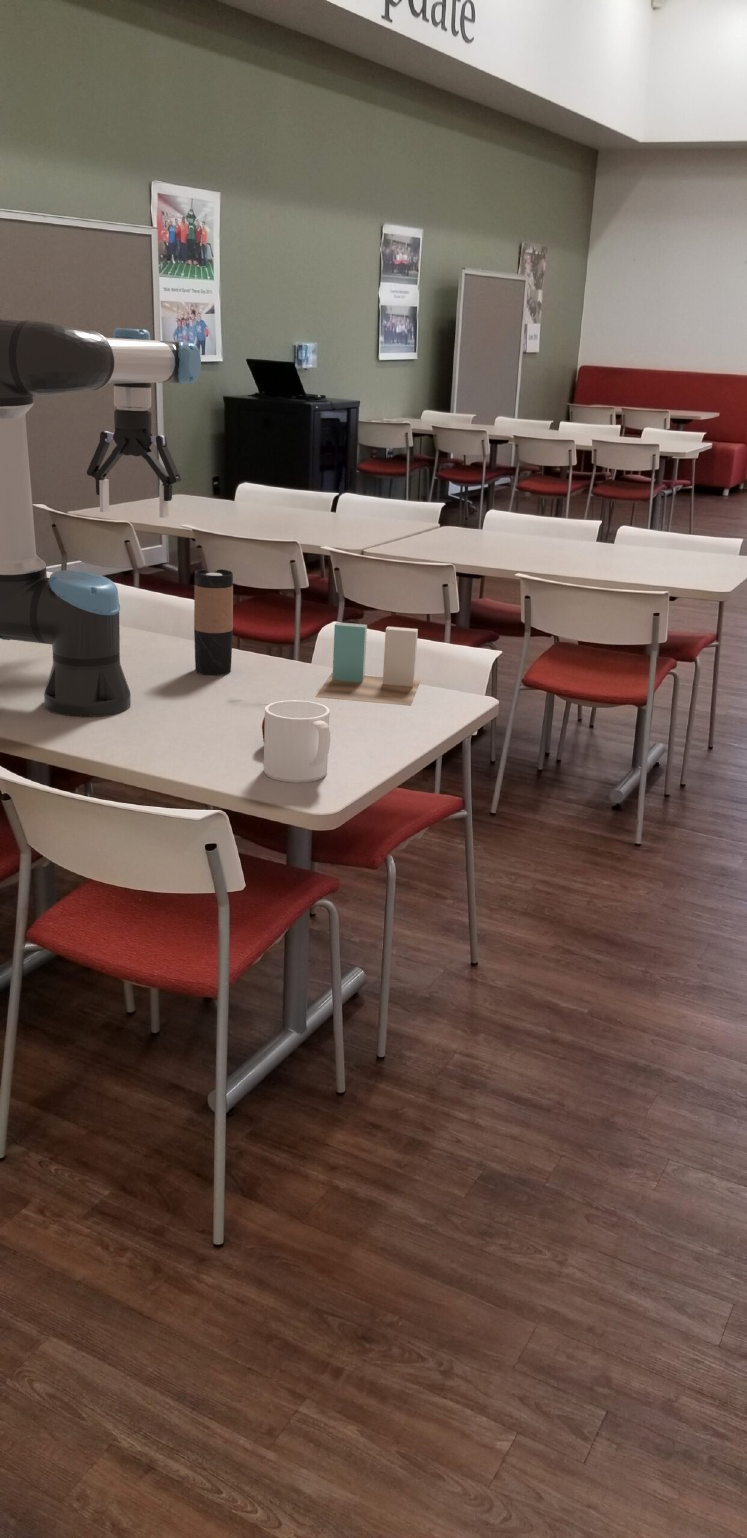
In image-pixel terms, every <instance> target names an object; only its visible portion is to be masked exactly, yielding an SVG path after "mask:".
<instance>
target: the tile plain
mask: <svg viewBox="0 0 747 1538" xmlns="http://www.w3.org/2000/svg"><path fill="white" fill-rule="evenodd" d="M418 631H419V629H418V628H410V627H399V626H387V627H386V628H385V634H384V635H385V636H384V650H383V651H384V654H383V671H382V672H383V674H382V677H383V684H387V685H398V686H410V687H413V686H414V681H415V680H416V664H417V662H416V661H417V648H418V647H417V646H418V634H419V633H418Z"/></svg>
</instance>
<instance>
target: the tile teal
mask: <svg viewBox="0 0 747 1538" xmlns="http://www.w3.org/2000/svg"><path fill="white" fill-rule="evenodd" d="M367 630H368V624H361V623H351V622H350V623H349V622H339V621H337V622H335V624H334V632H333V633H334V634H333V652H332V653H333V654H332V655H333V658H332V660H333V661H332V673H333V677H332V680H342V681H353V682H363V681H364V675H365V674H366V673H365V672H366V671H365V669H366V655H367V654H366V650H367V647H366V646H367V636H368V634H367V632H368V631H367ZM365 676H366V675H365Z"/></svg>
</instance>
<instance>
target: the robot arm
mask: <svg viewBox="0 0 747 1538" xmlns="http://www.w3.org/2000/svg"><path fill="white" fill-rule="evenodd" d="M201 369H202V357H201V352H200V350H199V347H198V346H197V345H196V344H194V343H193V342H186V341H185V342H184V341H180V340H179V341H169V340H155V339H154V340H152V339H151V334H150V332H149V331H148V330H147V329H140V328H139V329H138V328H123V327H122V328H121V327H116V328H115V329H114V330H113V332H112V337H106V336H104V335H102V334H101V333H99V332H97V331H94V330H90V329H89V330H88V329H81V328H77V327H73V326H68V325H63V324H59V323H56V322H55V323H54V322H50V321H44V320H35V319H33V320H29V319H28V320H27V319H13V318H0V639H1V640H4V641H11V640H12V641H18V642H19V641H20V642H26V643H27V642H28V643H35V644H45V645H50V646H52V647H51V648H52V666H51V669H50V672H49V677H48V679H47V683H46V685H45V686H46V687H45V689H44V693H43V694H44V695H43V698H44V699H43V701H44V702H43V703H44V708H45V709H46V710H48V711H50V712H52V713H54V714H58V715H63V716H71V717H100V716H101V717H102V716H108V715H114V714H118V713H121V712H123V711H125V710H127V709H128V708H130V707H131V704H132V703H131V702H132V701H131V696H132V694H131V690H130V688H129V685H128V681H127V678H126V676H125V673H124V671H123V668H122V665H121V653H120V652H121V651H120V650H121V649H120V647H121V646H120V644H121V643H120V640H121V637H120V630H121V629H120V610H121V606H120V600H119V590H118V586H117V585H116V584H115V582H113V581H112V580H111V579H110V578H107V577H106V576H103V575H100V574H97V573H93V572H88V571H82V570H78V571H76V570H69V569H68V570H67V569H65V570H64V569H63V570H59V571H55V572H52V573H50V576H49V577H48V574H47V564H46V561H44V560H43V559H42V558H40V557H39V556H38V555H37V548H36V536H35V535H36V534H35V533H36V532H35V523H34V520H35V519H34V508H33V507H34V506H33V495H32V483H31V482H32V481H31V473H30V471H31V470H30V460H29V459H30V457H29V448H28V447H29V446H28V445H29V443H28V434H27V420H26V414H27V413H28V412H29V410H30V409H32V408H33V406H34V405H35V404H34V396H35V397H36V396H39V397H48V396H59V395H66V394H72V393H81V392H88V391H96V390H100V389H102V388H104V387H105V386H107V385H109V384H113V406H114V407H116V409H115V408H114V410H113V421H114V422H113V423H114V424H113V426H114V432H111V431H110V430H103V431H100V434H99V442H98V445H97V447H96V449H95V452H94V454H93V456H92V458H91V460H90V464H89V465H88V468H87V470H86V475H87V476H90V477H92V478H94V479H95V494H96V495H97V496H99V512H101V513H104V512H110V489H109V488H110V482H109V481H110V479H108V478H107V475H108V474H109V473H110V471H111V470H112V469H113V468H114V466H115V465H116V464H117V463H118V462H119V460H120V459H121V457H122V456H134V457H142V458H143V459H144V460H145V461H146V462H147V463H148V465H149V467H150V468H151V469H152V470H153V472H154V473H155V475H156V476H157V477H158V479H159V480H160V482H161V483H162V484H160V485H159V487H158V488H159V491H158V492H159V494H158V495H159V497H158V498H159V500H158V501H159V518H161V519H162V518H167V517H169V502H170V501H172V500H173V485H174V484H176V483H179V482H181V480H182V478H181V475H180V473H179V470H178V468H177V466H176V463H175V462H174V459H173V457H172V453H171V452H170V450H169V447H168V442H167V436H166V435H165V434H159V435H156V436H155V435H154V436H153V434H152V412H151V410H149V409H150V408H151V407H152V383H158V384H160V383H161V384H163V383H164V384H165V383H167V384H180V385H183V384H194V383H195V382H197V381H198V379H199V377H200V375H201ZM113 441H114V443H115V445H116V446H115V447H114V449H113V450H112V451H111V453H110V455H109V456H108V457H107V459H105V461H104V458H105V456H106V453H107V452H108V450H109V447H110V445H111V443H112V442H113ZM152 444H154V446H155V447H156V449H157V452H158V455H159V456H160V459H161V461H162V463H161V461H159V459H158V457H157V456H156V455H155V452H154V451H153V449H152V448H151V445H152ZM103 461H104V462H103ZM102 462H103V464H102ZM162 464H163V465H164V466H163V465H162Z"/></svg>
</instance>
